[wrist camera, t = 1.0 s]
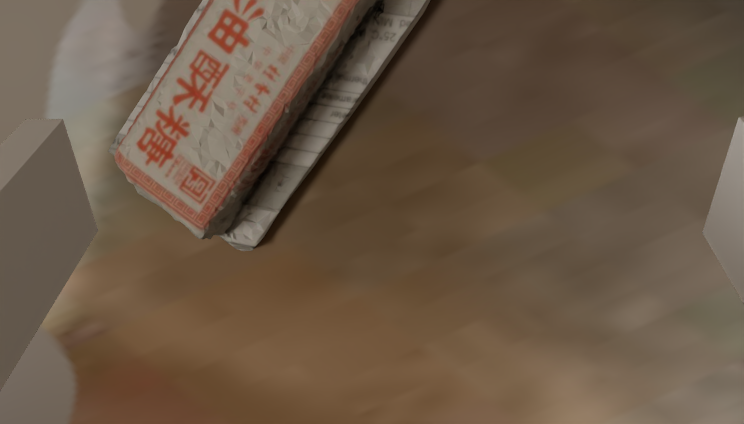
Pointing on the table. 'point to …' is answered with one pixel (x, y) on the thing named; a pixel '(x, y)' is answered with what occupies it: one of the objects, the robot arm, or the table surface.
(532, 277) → the table surface
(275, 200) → the packaged product
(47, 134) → the robot arm
